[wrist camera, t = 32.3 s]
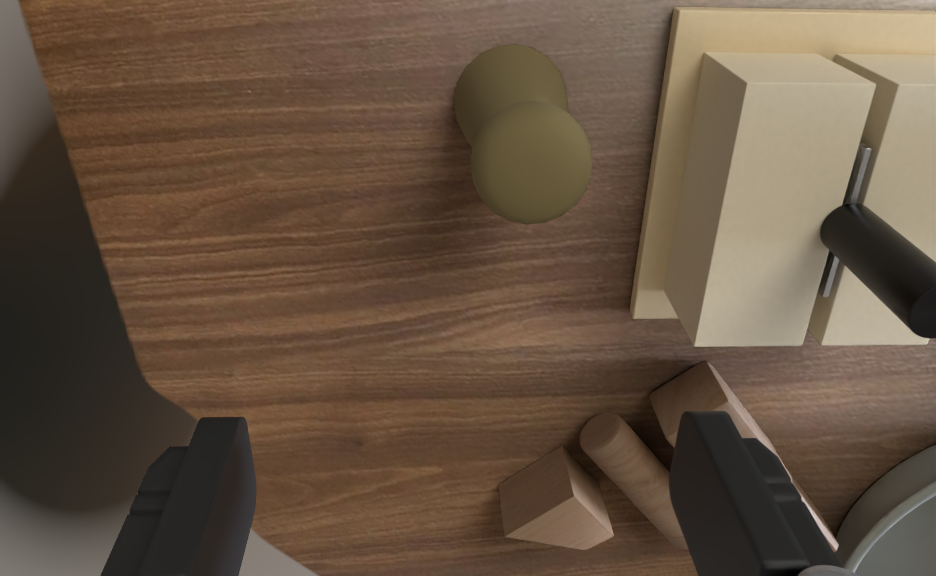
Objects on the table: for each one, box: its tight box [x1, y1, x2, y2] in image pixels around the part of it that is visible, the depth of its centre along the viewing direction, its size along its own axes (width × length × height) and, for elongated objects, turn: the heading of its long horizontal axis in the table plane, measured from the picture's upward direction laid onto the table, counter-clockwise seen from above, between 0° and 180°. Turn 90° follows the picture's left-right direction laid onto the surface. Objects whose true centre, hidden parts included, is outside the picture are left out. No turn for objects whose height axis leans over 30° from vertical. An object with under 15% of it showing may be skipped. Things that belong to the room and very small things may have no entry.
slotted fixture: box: [629, 7, 936, 347], centre depth 41 cm, size 18×16×7 cm
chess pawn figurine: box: [454, 44, 592, 224], centre depth 36 cm, size 6×6×11 cm
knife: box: [818, 141, 936, 338], centre depth 37 cm, size 8×3×14 cm, turn 179°
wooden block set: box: [498, 361, 839, 552], centre depth 53 cm, size 17×6×18 cm
